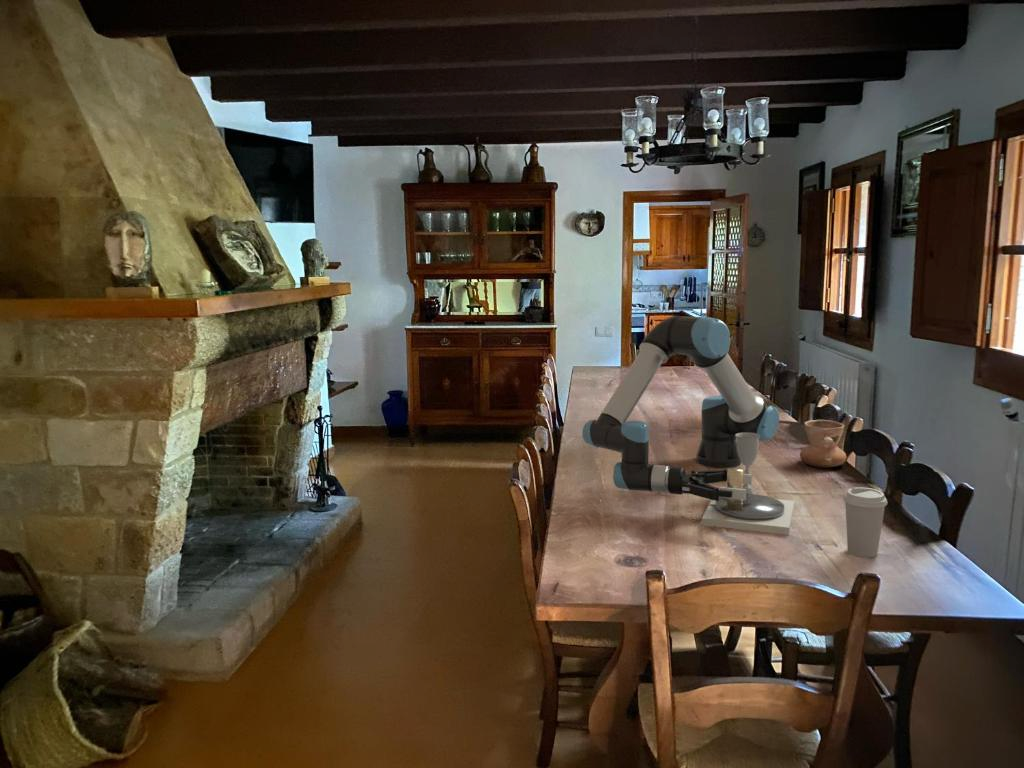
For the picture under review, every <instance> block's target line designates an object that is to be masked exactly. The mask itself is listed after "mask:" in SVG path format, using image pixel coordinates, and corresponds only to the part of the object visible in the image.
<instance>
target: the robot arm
mask: <svg viewBox="0 0 1024 768" xmlns="http://www.w3.org/2000/svg"><path fill="white" fill-rule="evenodd" d="M730 336H731V333H730V330H729V327H728V326H727V324H726V323H725V322H724V321H722V320H721V319H719V318H714V317H709V316H682V315H673V316H670V317H667V318H666V319H663V320H662V321H660V322H659V323H657V324H656V325H655V326H654V327H652V329H651V330H650V331H649V332H648V333H647V334H646V336H645V337H644V338H643V339H642V341H641V343H640V344H639V353H638V354H637V356H636V357H635V359H634V361H632V363H631V365H630V367H629V368H628V370H626V373H625V375H624V376H623V377H622V379H621V381H620V382H619V384H618V386H617V387H616V389H615V391H614V392H613V394H612V395H611V396H610V398H609V400H608V402H607V403H606V405H605V406H604V408H603V409H602V411H601V413H600V415H599V416H598V417H597V419H591V420H589V421H587V422H586V423H585V424H584V425H583V427H582V433H581V434H582V438H583V441H584V442H585V443H586V444H587V445H590V446H593V447H596V448H600V449H604V450H605V449H606V450H610V451H613V452H617V453H620V454H621V461H618V462H616V463H615V465H614V467H613V473H612V479H613V484H614V486H615V487H616V488H618V489H623V490H628V491H640V492H641V491H643V492H653V493H657V494H658V495H661V494H662V493H664V494H667V493H669V494H670V495H672V494H673V495H683V494H687V495H693V496H696V497H699V498H703V499H707V500H710V501H711V500H715V501H719V497H720V498H728V499H739V500H746V489H737V488H727V487H725V486H720V487H719V488H718V487H716V486H715V485H710V484H716V483H717V484H718V483H723V482H727V476H728V468H731V467H737V466H740V465H741V464H742V462H741V460H740V458H739V456H738V453H737V437H736V434H737V433H745V432H748V433H757V434H760V438H759V442H760V441H761V442H767V441H769V440H772V439H773V437H774V436H775V434H776V433H777V430H778V429H779V428H778V427H779V423H780V412H779V409H778V408H777V407H775V406H773V405H767V404H766V403H765V401H764V400H763V398H762V397H761V396H760V395H758V394H756V393H753V391H752V389H750V387H749V385H748V383H747V382H746V380H745V379H744V377H743V375H742V373H741V372H740V370H739V369H738V368H737V366H736V364H735V363H734V361H733V360H732V357H731V356H730V354H729V351H730V345H731V337H730ZM673 355H683V356H688V357H689V358H690V360H691V362H693V364H694V365H695V366H696V367H697V368H700V369H703V370H704V371H705V373H706V374H707V376H708V378H709V379H710V380H711V382H712V384H713V385H714V387H715V388H716V390H717V391H718V393H719V394H720V395H711V396H708V397H705V398H704V399H702V402H701V410H700V411H701V440H700V443H699V446H698V449H697V451H696V455H695V461H696V463H697V464H699V465H702V466H705V467H710V468H724V469H715V470H714V469H711V470H690V474H689V473H686V470H685V469H686V468H685V467H683V466H681V467H680V466H669V465H662V464H661V465H658V464H649V451H650V450H649V447H650V446H649V439H650V436H649V427H648V424H647V423H646V422H645V421H642V420H628V418H629V417H630V415H631V414H632V412H633V410H634V409H635V407H636V406H637V404H638V402H640V399H641V398H642V396H643V395H644V393H645V391H646V389H647V388H648V386H649V385H650V384H651V382H652V380H653V379H654V377H655V374H657V372H658V370H659V369H660V368H661V365H662V364H666V363H667V361H668V360H669V358H671V356H673ZM726 468H727V469H726ZM752 481H753V474H751V473H749V474H745V473H743V485H744V484H748V485H751V486H752V484H753V482H752Z"/></svg>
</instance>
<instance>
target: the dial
mask: <svg viewBox="0 0 1024 768" xmlns="http://www.w3.org/2000/svg"><path fill="white" fill-rule="evenodd" d="M727 470H728V476H727V481H726V484H727V485H726V486H727V488H737V489H743V485H744V484H743V474H744V469H743V468H741V467H737V466H733V467H727ZM776 499H777V498H774V497H771V496H768V495H761V494H756V493H755V494H746V500H739V499H728V498H719V501H716V509H717V510H718V511H719V512H721V513H723V514H725V515H728V516H731V517H735V518H741V519H750V520H764V519H772V518H776V517H779V516H781V515H782V514H783V513H784V504H783V503H782V502H780V501H779V500H780V499H779V500H776Z"/></svg>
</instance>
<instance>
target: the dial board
mask: <svg viewBox="0 0 1024 768" xmlns="http://www.w3.org/2000/svg"><path fill="white" fill-rule="evenodd" d="M719 498H720V497H719ZM775 499H776V500H779V501H780V502H782V503H783V504H784V513H783V514H782V515H781V516H779V517H776V518H772V519H764V520H750V519H741V518H735V517H731V516H728V515H725V514H723V513H721V512H719V511H718V510H717V509H716V501H715V500H711V499H710V502H709V504H708V506H707V507H706V510H705V512H704V513H703V516H702V517H701V526H704V527H705V526H707V527H713V526H716V527H715V528H722V527H725V528H724V529H731V528H733V530H740V529H741V531H742V530H743V531H751V532H759V533H760V532H761V533H766V534H767V533H768V534H774V535H775V534H776V535H777V534H778V535H786V536H789V535H790V532H791V526H792V521H793V517H794V511H795V503H796V502H795V500H788V499H778V498H775Z"/></svg>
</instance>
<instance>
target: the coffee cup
mask: <svg viewBox="0 0 1024 768" xmlns="http://www.w3.org/2000/svg"><path fill="white" fill-rule="evenodd" d="M842 500H843V502H844V503H845V521H846V540H847V541H846V542H847V543H846V545H847V552H848V553H849V554H850V555H852V556H855V557H858V558H859V557H860V558H867V559H870V558H875V557H877V556H878V554H879V553H878V552H879V546H880V545H879V544H880V540H881V534H882V525H883V522H884V521H883V520H884V515H885V508H886V506H887V505H888V499H887V498H886V496H885V493H884V492H883V491H881V490H879V489H875V488H870V487H862V486H861V487H850V488H848V489H847V490H846V493H845V494H844V495H843V497H842Z"/></svg>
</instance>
